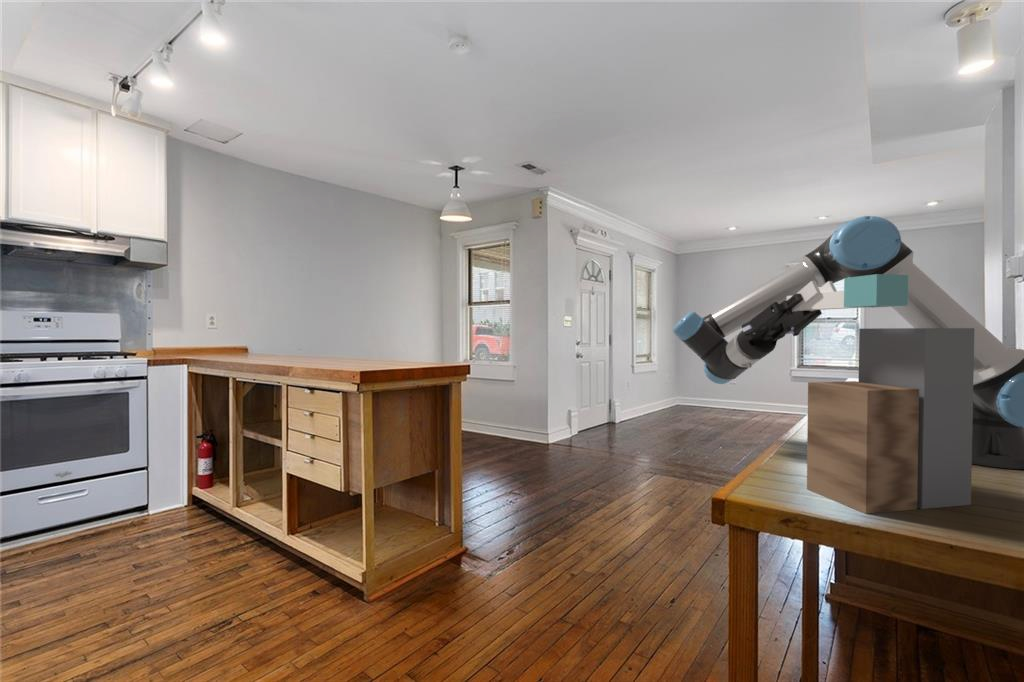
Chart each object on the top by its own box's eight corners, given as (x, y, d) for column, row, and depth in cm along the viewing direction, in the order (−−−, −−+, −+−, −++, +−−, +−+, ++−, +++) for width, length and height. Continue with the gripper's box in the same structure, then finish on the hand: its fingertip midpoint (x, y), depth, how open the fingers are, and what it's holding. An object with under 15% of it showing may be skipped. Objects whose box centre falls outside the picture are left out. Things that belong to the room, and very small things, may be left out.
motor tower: (900, 482, 92) (903, 328, 91) (970, 504, 80) (974, 328, 79) (857, 485, 90) (859, 328, 89) (922, 508, 78) (925, 328, 77)
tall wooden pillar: (852, 485, 90) (854, 381, 89) (917, 509, 78) (919, 389, 77) (806, 489, 88) (808, 382, 87) (865, 513, 76) (867, 390, 76)
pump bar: (805, 310, 97) (806, 286, 97) (907, 305, 77) (908, 275, 76) (779, 310, 96) (780, 286, 96) (876, 305, 76) (876, 274, 75)
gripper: (787, 359, 109) (869, 303, 89) (724, 360, 106) (794, 303, 86) (776, 331, 112) (852, 271, 92) (715, 331, 110) (780, 269, 89)
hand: (824, 286), depth 89 cm, fingers closed on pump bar, 3 cm apart
